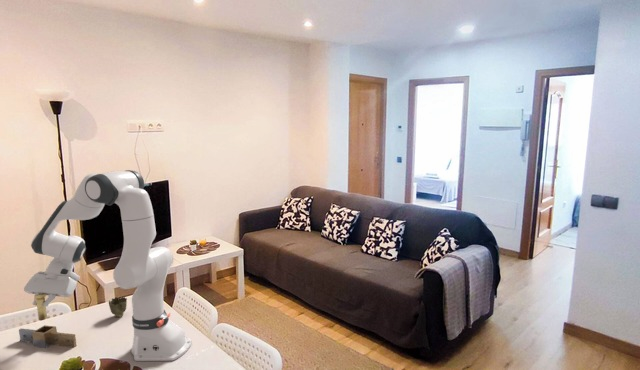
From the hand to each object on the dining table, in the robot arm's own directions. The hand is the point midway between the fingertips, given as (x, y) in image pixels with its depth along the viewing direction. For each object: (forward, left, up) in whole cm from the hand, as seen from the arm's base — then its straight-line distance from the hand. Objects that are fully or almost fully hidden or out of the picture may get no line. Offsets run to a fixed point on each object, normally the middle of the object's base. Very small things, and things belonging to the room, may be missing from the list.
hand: (39, 305), depth 152 cm
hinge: (0, -1, -17) cm, 17 cm away
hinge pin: (0, -1, -6) cm, 6 cm away
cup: (-14, -26, -17) cm, 34 cm away
